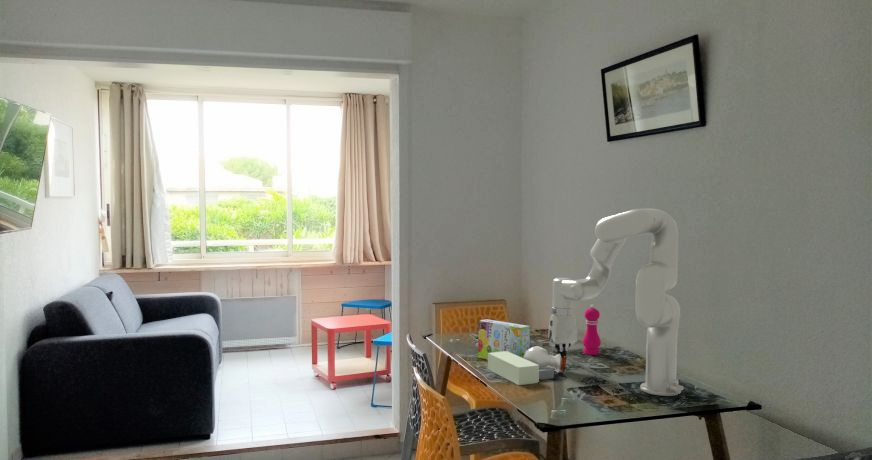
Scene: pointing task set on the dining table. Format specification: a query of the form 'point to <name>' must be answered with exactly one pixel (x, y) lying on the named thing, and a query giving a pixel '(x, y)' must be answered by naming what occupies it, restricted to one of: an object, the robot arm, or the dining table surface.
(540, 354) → the potion bottle
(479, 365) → the dining table surface
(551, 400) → the dining table surface
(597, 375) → the dining table surface
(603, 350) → the dining table surface
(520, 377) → the green and grey block
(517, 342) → the snack box
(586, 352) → the pepper mill
